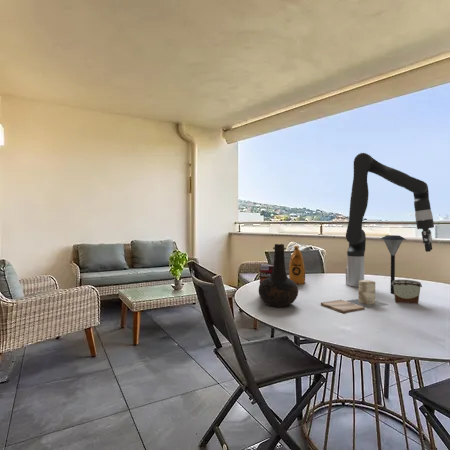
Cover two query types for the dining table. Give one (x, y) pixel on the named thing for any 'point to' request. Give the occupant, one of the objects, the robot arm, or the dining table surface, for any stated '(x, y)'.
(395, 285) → the food container
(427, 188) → the robot arm
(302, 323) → the dining table surface
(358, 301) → the tile
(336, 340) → the dining table surface
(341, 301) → the walnut board
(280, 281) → the glass bottle
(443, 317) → the dining table surface
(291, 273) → the coffee package
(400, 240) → the solar garden light
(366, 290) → the birch block
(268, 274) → the supplement box
